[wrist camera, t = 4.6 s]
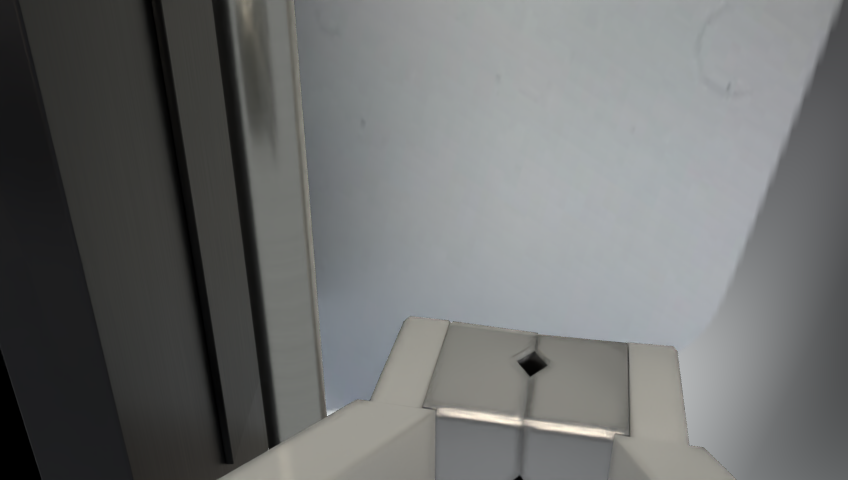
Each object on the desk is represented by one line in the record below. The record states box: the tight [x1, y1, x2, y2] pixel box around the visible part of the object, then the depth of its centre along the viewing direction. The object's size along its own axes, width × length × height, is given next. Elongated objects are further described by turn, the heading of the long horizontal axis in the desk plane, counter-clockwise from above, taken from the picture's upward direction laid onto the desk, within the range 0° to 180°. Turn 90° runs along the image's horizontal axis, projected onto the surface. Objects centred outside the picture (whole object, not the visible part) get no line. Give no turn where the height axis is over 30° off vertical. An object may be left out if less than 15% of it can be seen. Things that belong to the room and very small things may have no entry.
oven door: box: [0, 0, 327, 480], centre depth 19 cm, size 5×24×18 cm, turn 0°
